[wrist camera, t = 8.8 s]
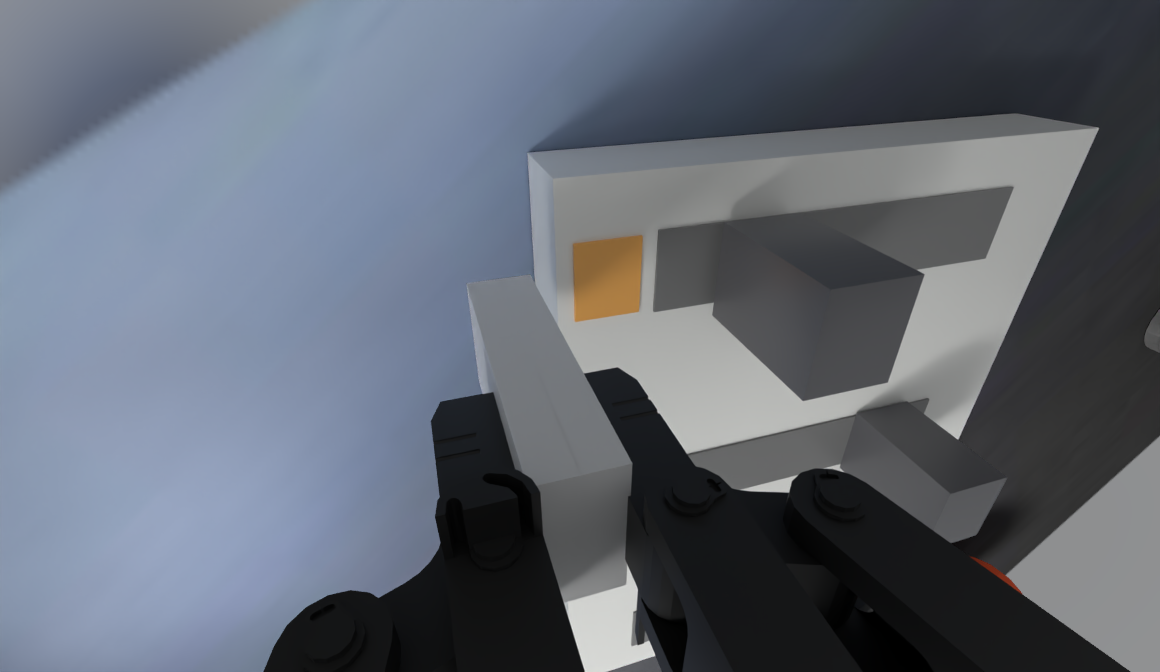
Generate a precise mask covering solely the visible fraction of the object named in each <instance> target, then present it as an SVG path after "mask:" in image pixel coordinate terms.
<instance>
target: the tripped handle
mask: <svg viewBox="0 0 1160 672" xmlns="http://www.w3.org/2000/svg"><path fill="white" fill-rule="evenodd" d="M924 275H925V274H923V273H921V272H919V271H917V270H915V269H913V268H911V267H909V266H907V265H905V264H903V263H901V262H899V261H897V260H895V259H893V258H891V257H889V256H887V255H885V254H883V253H881V252H879V251H877V250H875V249H873V248H871V247H869V246H867V245H865V244H863V243H861V242H859V241H857V240H855V239H853V238H851V237H849V236H847V235H845V234H843V233H841V232H839V231H837V230H835V229H833V228H831V227H829V226H827V225H825V224H823V223H821V222H819V221H817V220H815V219H813V218H811V217H809V216H807V215H805V214H803V213H801V212H799V213H791V214H783V215H775V216H766V217H758V218H750V219H742V220H734V221H726V222H724V227H723V235H722V243H721V251H720V258H719V266H718V274H717V282H716V289H715V297H714V305H713V313H712V316H713V317H714V318H716V319H717V320H718V321H719V322H720V323H721V324H722V325H723V326H724V327H725V328H726V329H727V330H728V331H729V332H730V333H731V334H732V335H734V336H735V337H736V338H737V339H738V340H739V341H740V342H741V343H742V344H743V345H744V346H745V347H746V348H747V349H748V350H749V351H750V352H751V353H753V354H754V355H755V356H756V357H757V358H758V359H759V360H760V361H761V362H762V363H763V364H764V365H765V366H766V367H767V368H768V369H769V370H770V371H772V372H773V373H774V374H775V375H776V376H777V377H778V378H779V379H780V380H781V381H782V382H783V383H784V384H785V385H786V386H787V387H788V388H790V389H791V390H792V391H793V392H794V393H795V394H796V395H797V396H798V397H799V398H800V399H801V400H802V401H806V400H811V399H815V398H820V397H825V396H829V395H834V394H838V393H843V392H847V391H852V390H856V389H861V388H865V387H870V386H875V385H879V384H884V383H888V381H889V378H890V375H891V372H892V369H893V366H894V363H895V360H896V357H897V354H898V351H899V348H900V345H901V342H902V340H903V337H904V334H905V331H906V328H907V325H908V322H909V319H910V316H911V313H912V310H913V307H914V304H915V301H916V299H917V296H918V293H919V290H920V287H921V284H922V281H923V278H924Z"/></svg>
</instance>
